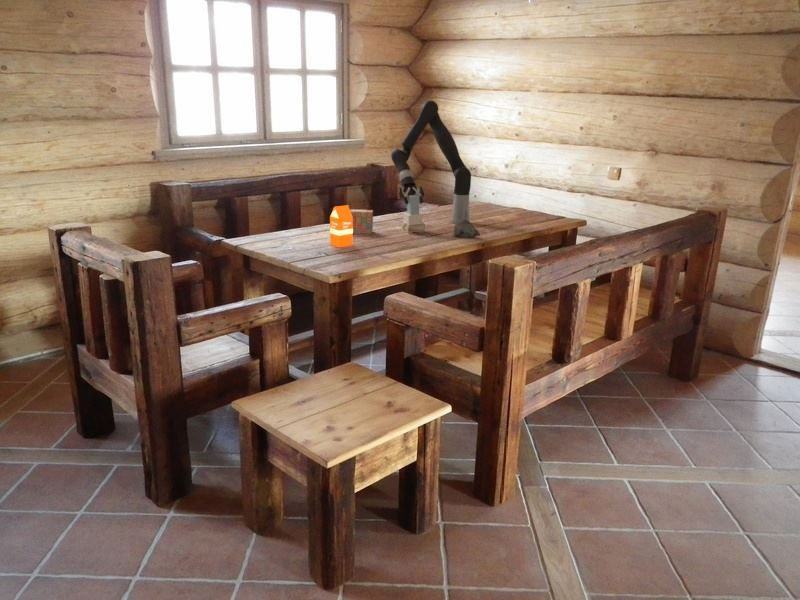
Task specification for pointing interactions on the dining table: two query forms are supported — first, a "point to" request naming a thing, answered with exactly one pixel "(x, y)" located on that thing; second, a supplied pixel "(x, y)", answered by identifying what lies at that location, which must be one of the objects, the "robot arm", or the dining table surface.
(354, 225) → the stack of blocks
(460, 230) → the mineral rock
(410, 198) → the pillar block
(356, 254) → the dining table surface
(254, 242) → the dining table surface
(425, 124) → the robot arm
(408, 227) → the tower bottom slab
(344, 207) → the orange juice
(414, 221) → the tower top slab
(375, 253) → the dining table surface
